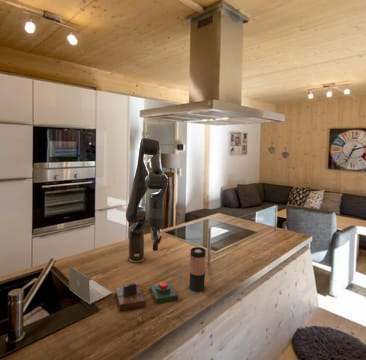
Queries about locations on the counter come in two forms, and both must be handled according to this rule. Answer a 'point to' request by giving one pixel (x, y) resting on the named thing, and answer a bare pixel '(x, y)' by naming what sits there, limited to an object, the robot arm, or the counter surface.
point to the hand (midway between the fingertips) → (155, 250)
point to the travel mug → (197, 268)
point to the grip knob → (129, 289)
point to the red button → (163, 285)
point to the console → (130, 299)
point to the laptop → (86, 287)
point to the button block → (163, 293)
